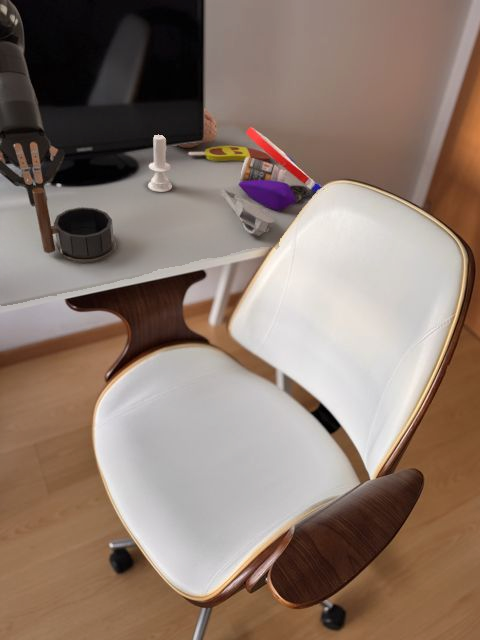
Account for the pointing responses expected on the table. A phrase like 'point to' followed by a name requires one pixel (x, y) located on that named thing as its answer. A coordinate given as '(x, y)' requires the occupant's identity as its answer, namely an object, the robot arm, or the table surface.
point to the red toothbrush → (281, 158)
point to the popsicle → (232, 154)
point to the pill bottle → (261, 171)
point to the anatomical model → (205, 130)
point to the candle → (159, 166)
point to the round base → (86, 260)
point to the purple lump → (269, 193)
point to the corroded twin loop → (299, 191)
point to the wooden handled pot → (74, 229)
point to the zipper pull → (249, 214)
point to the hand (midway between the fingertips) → (39, 207)
